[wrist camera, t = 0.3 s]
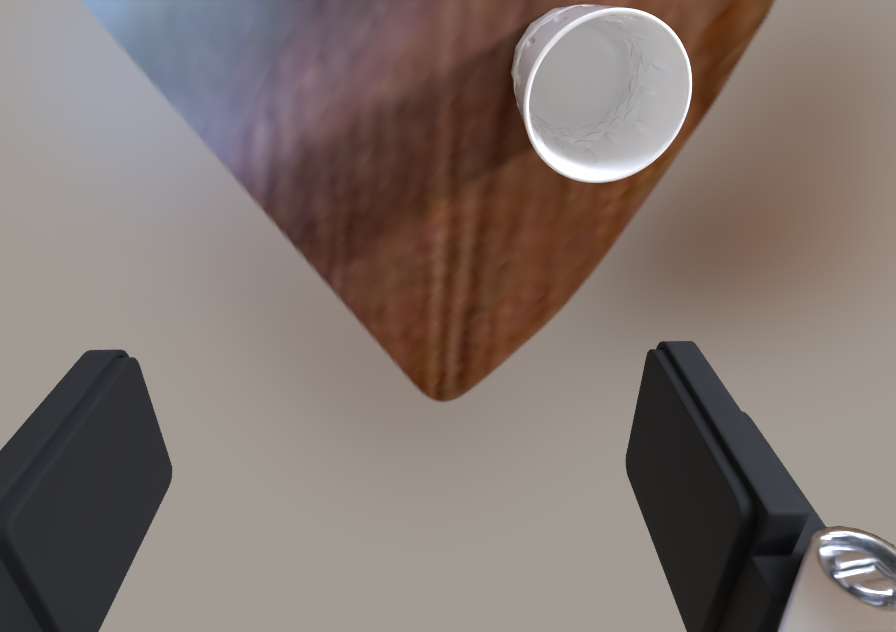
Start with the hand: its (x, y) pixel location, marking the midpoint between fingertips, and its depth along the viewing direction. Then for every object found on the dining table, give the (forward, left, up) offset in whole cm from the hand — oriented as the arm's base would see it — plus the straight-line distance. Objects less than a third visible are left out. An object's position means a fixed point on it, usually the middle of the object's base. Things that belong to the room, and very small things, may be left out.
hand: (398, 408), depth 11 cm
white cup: (-7, +6, -31) cm, 32 cm away
